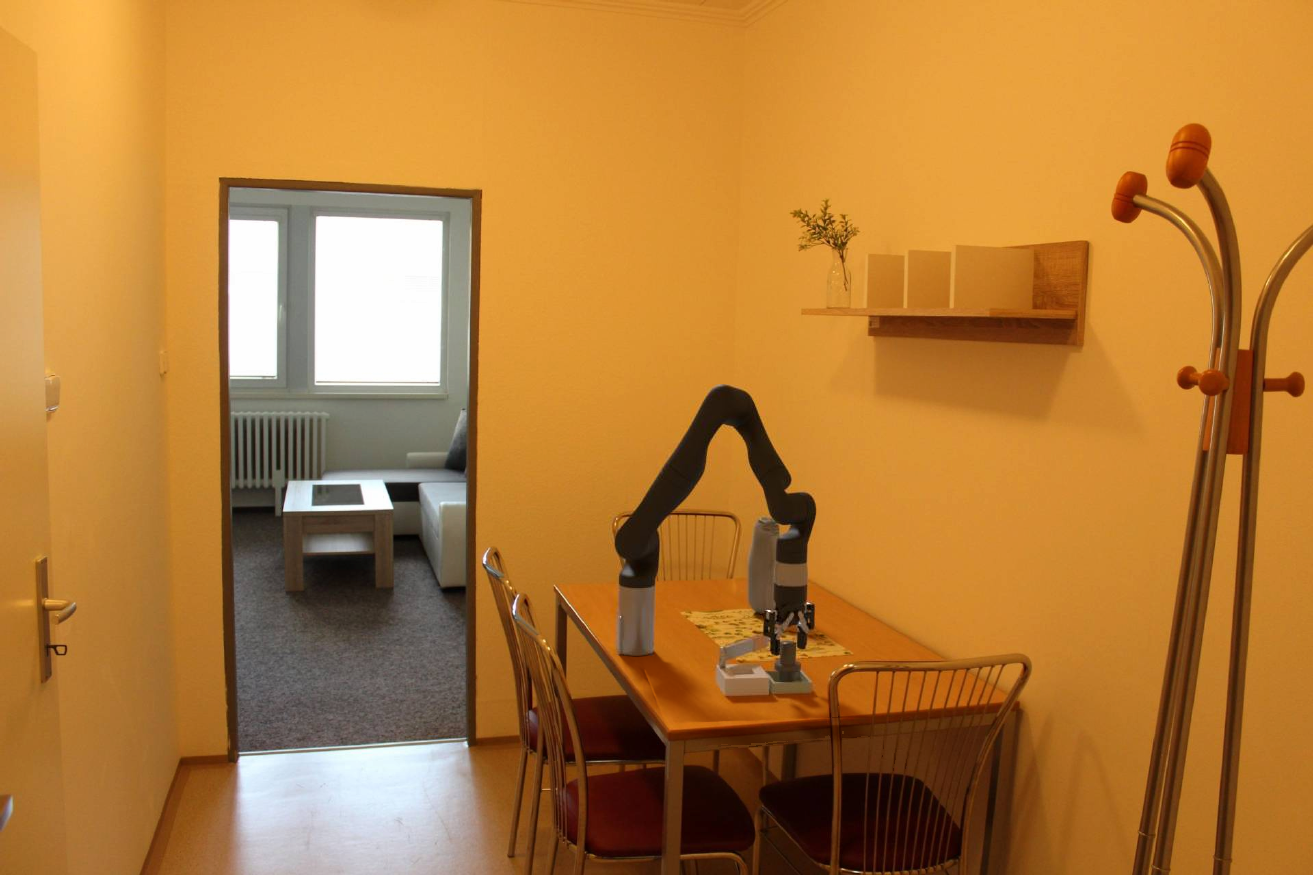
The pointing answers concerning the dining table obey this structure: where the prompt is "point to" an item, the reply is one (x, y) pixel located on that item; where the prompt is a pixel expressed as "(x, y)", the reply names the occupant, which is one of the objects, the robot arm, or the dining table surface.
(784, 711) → the dining table surface
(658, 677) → the dining table surface
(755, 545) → the grey bottle
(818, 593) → the dining table surface
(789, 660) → the plug
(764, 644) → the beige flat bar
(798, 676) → the tray
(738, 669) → the socket block
